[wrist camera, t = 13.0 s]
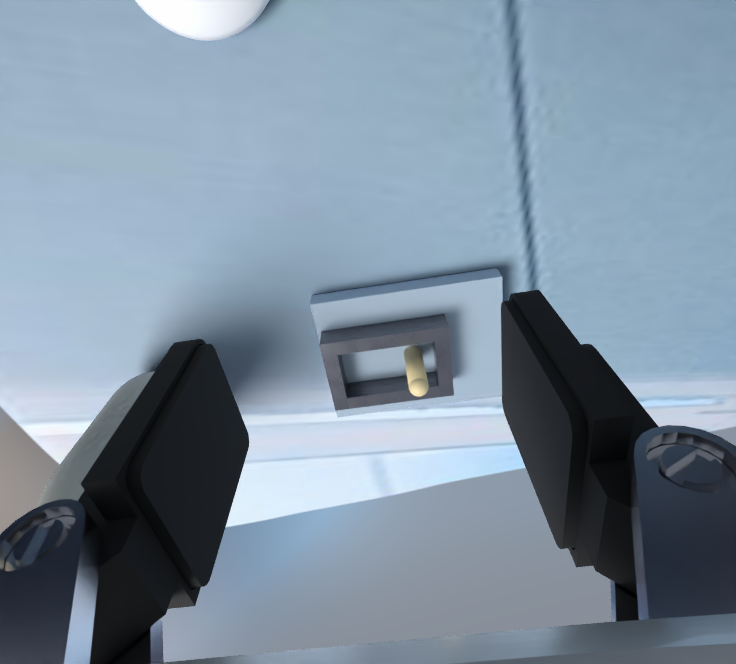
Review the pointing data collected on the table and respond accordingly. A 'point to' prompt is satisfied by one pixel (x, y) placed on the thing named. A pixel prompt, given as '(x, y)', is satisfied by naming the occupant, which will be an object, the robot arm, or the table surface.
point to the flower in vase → (204, 16)
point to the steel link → (382, 338)
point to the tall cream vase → (92, 443)
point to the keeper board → (467, 343)
